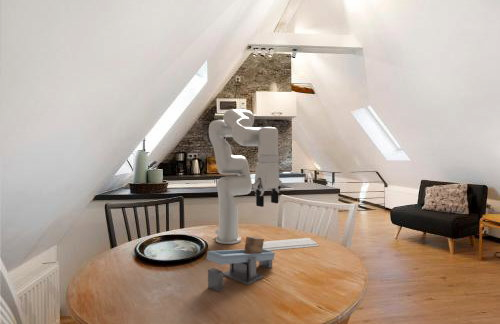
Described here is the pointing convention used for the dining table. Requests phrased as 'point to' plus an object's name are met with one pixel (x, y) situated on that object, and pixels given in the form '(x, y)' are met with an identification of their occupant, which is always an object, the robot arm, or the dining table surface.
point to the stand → (237, 273)
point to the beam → (237, 256)
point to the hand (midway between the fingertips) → (267, 204)
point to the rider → (253, 245)
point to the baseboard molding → (289, 244)
